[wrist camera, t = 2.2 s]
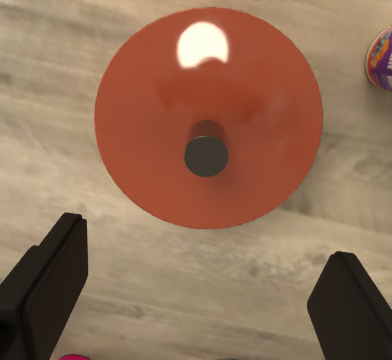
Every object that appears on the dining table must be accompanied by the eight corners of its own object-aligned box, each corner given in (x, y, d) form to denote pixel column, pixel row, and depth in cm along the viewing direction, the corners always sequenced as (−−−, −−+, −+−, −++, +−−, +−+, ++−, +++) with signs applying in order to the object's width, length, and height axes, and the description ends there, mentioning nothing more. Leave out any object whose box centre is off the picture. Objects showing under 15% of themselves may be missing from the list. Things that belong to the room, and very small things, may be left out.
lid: (355, 33, 20) (397, 33, 15) (280, 235, 28) (293, 273, 23) (98, -14, 19) (65, -28, 15) (98, 206, 27) (77, 240, 23)
